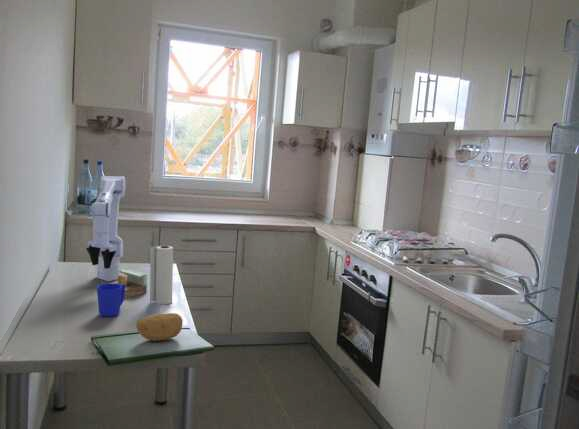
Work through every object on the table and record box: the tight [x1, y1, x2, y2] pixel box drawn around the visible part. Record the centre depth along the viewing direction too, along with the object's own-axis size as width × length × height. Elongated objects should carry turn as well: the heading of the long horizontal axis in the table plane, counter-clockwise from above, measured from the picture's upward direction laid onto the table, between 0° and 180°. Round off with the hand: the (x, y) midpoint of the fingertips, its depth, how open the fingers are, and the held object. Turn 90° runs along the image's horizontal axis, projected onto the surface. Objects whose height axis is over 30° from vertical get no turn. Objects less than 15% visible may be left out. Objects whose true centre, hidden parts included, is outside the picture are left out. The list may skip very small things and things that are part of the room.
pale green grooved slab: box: [119, 268, 148, 292], centre depth 217 cm, size 12×4×8 cm, turn 55°
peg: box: [117, 274, 127, 287], centre depth 213 cm, size 4×4×7 cm
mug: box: [96, 282, 125, 318], centre depth 190 cm, size 8×12×10 cm
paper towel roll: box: [149, 245, 174, 305], centre depth 203 cm, size 7×6×21 cm
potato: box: [135, 312, 184, 342], centre depth 167 cm, size 10×14×8 cm
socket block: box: [108, 281, 148, 299], centre depth 214 cm, size 12×12×3 cm
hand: (101, 266), depth 214 cm, fingers open, 7 cm apart
